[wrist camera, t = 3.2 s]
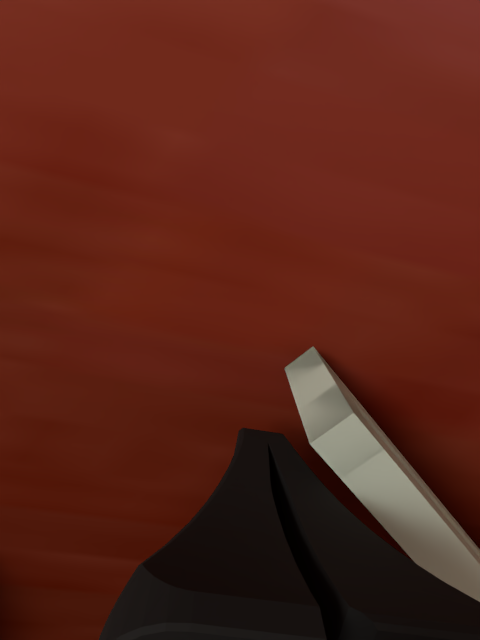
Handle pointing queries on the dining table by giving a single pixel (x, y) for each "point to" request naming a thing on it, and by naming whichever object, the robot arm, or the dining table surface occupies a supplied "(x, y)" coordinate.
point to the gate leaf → (381, 475)
